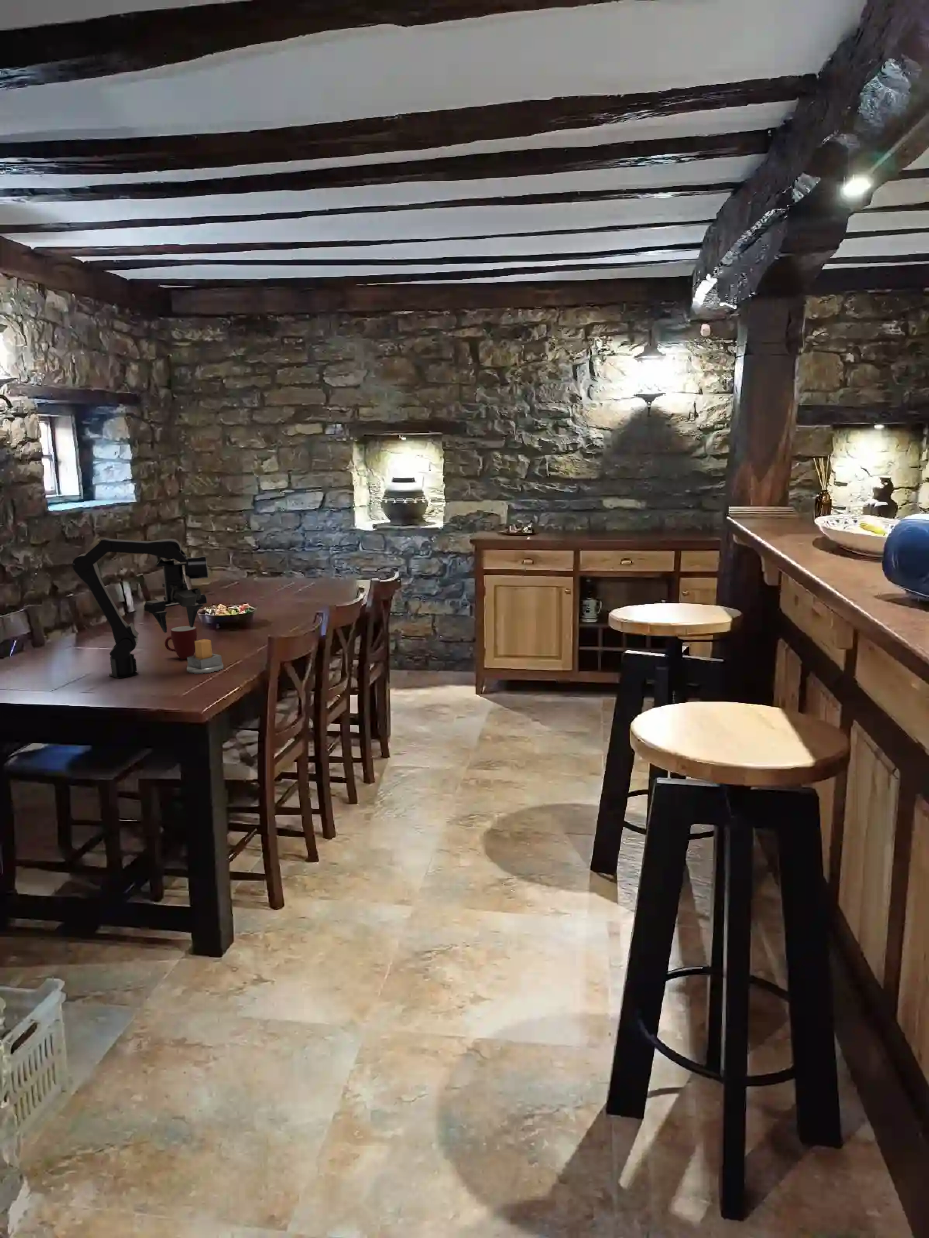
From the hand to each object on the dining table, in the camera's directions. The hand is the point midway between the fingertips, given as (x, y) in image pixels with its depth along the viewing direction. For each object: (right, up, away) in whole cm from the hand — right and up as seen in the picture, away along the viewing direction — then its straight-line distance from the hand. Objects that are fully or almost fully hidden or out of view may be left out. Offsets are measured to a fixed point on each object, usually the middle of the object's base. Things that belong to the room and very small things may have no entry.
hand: (178, 629), depth 275 cm
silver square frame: (+7, -12, +3) cm, 15 cm away
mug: (-5, -10, +18) cm, 21 cm away
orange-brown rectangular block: (+7, -11, +3) cm, 14 cm away
